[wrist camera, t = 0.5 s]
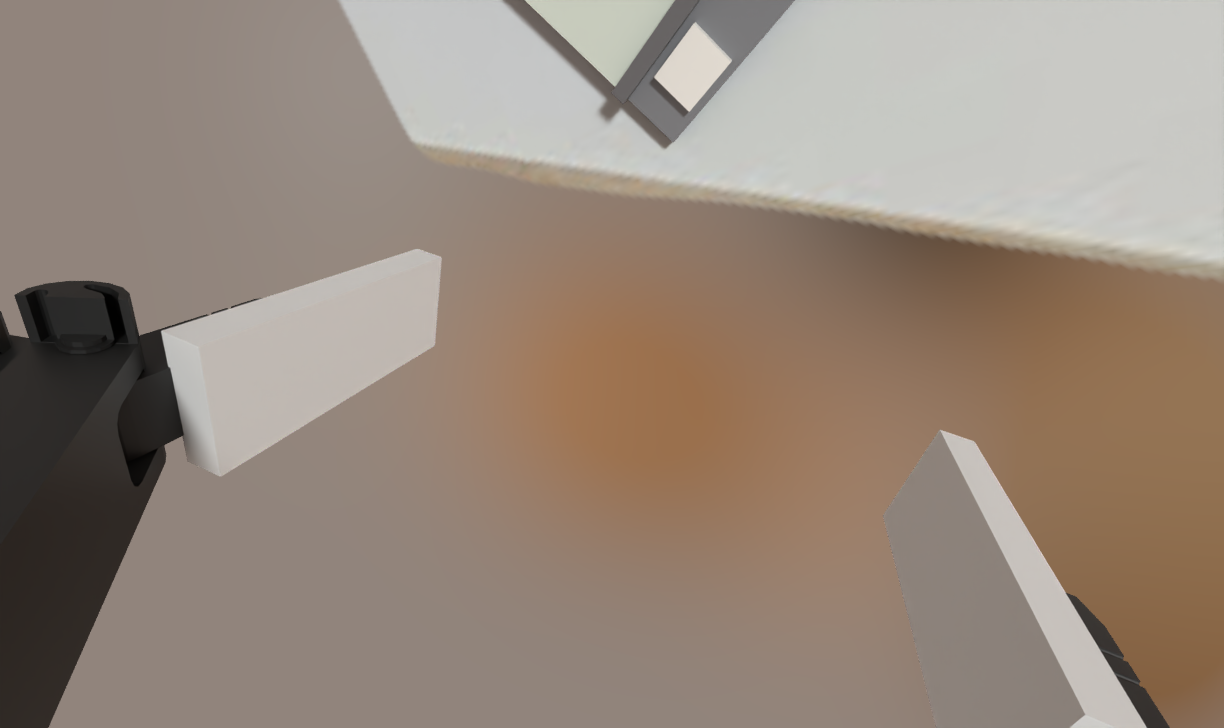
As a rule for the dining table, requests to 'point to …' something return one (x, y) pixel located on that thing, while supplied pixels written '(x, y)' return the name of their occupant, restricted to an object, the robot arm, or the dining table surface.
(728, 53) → the board
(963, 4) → the dining table surface
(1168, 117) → the dining table surface
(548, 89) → the dining table surface
